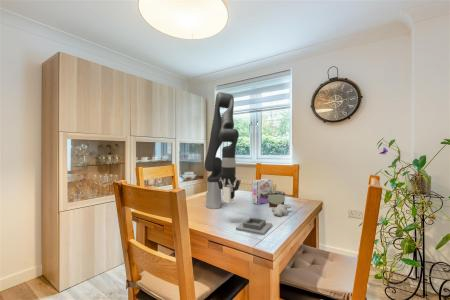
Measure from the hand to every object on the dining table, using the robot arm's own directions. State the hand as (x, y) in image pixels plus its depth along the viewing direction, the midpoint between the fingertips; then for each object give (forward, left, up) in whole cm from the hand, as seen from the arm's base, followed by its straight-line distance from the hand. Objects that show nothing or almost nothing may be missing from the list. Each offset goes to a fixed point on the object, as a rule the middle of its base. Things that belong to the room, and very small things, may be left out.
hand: (228, 197), depth 117 cm
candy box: (+4, +45, -13) cm, 47 cm away
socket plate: (+16, -2, -13) cm, 20 cm away
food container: (+14, +40, -13) cm, 45 cm away
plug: (0, 0, -2) cm, 2 cm away
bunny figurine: (+22, +27, -13) cm, 37 cm away
